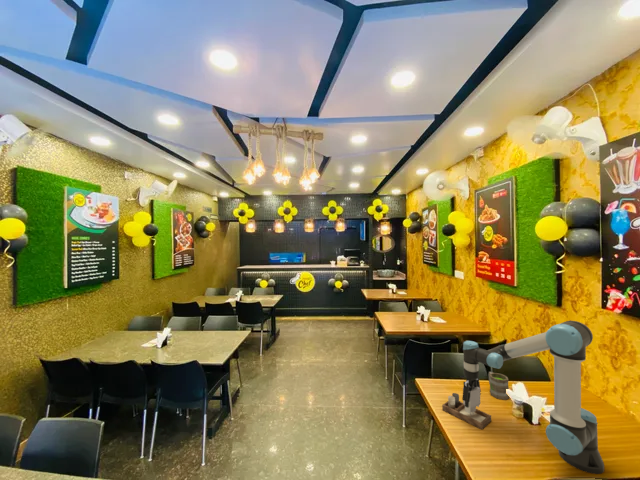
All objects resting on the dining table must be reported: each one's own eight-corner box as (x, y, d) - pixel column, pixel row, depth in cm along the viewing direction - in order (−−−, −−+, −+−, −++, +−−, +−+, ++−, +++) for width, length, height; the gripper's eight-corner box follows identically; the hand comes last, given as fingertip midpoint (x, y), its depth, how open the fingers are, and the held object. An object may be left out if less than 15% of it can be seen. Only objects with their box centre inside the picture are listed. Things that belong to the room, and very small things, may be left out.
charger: (481, 414, 154) (481, 388, 154) (469, 419, 151) (469, 391, 151) (474, 410, 159) (473, 384, 159) (462, 414, 155) (461, 387, 155)
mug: (513, 399, 172) (512, 380, 173) (496, 399, 173) (495, 380, 173) (497, 386, 188) (497, 369, 188) (481, 387, 188) (481, 369, 188)
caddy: (491, 420, 152) (491, 406, 152) (481, 429, 145) (481, 414, 145) (452, 402, 170) (452, 389, 170) (442, 410, 163) (442, 396, 163)
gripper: (473, 361, 165) (474, 399, 164) (454, 372, 152) (455, 413, 151) (486, 366, 159) (487, 404, 158) (468, 377, 145) (469, 420, 145)
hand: (472, 408), depth 155 cm, fingers closed on charger, 10 cm apart
